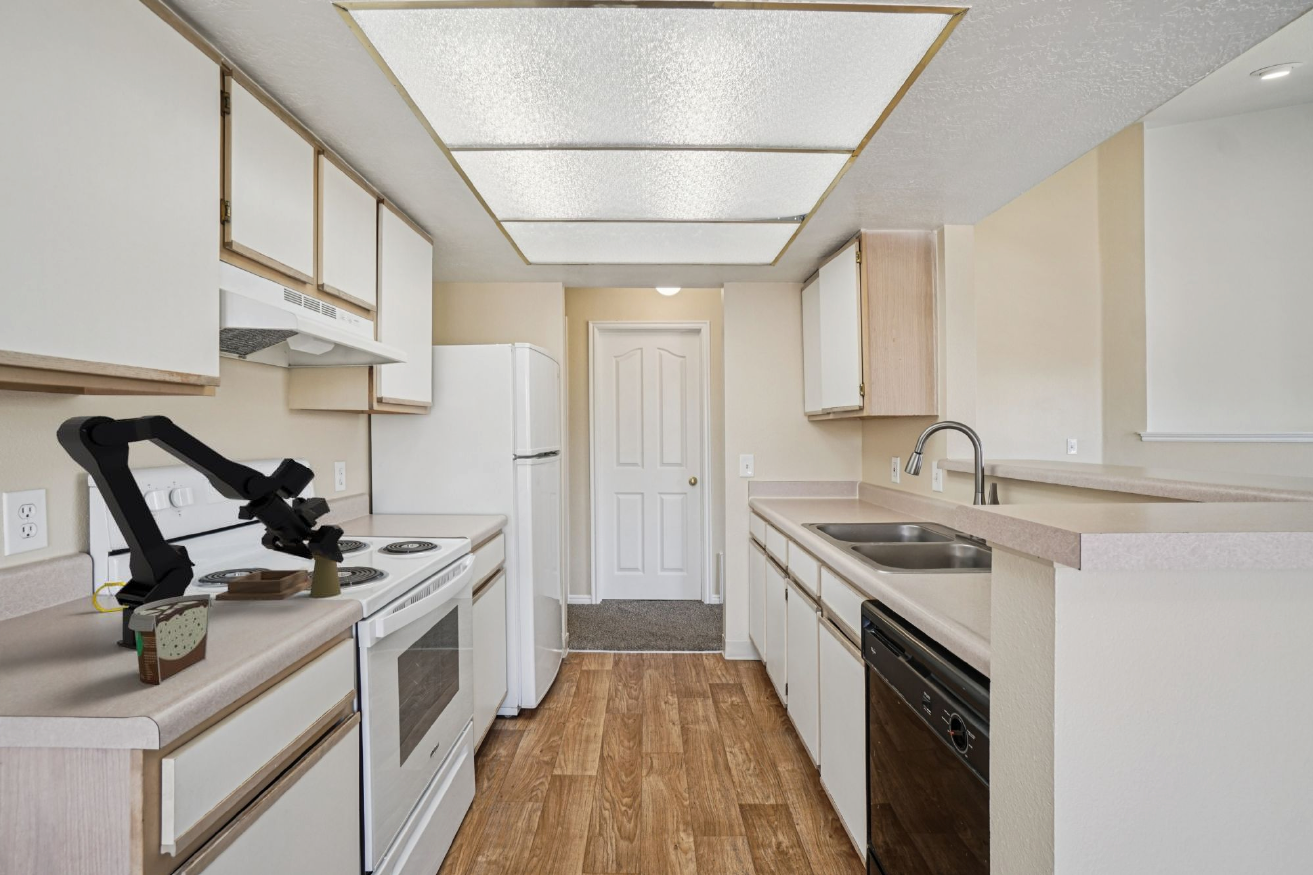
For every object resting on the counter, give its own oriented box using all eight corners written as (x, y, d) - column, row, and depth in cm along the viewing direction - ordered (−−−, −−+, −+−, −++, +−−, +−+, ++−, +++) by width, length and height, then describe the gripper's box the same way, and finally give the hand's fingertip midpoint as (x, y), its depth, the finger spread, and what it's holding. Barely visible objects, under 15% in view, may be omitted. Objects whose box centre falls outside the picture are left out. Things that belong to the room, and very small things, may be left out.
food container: (171, 657, 93) (171, 593, 93) (212, 656, 93) (212, 592, 93) (103, 690, 80) (103, 617, 80) (151, 689, 81) (151, 616, 81)
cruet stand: (283, 599, 126) (283, 582, 126) (215, 599, 126) (215, 583, 126) (317, 583, 140) (317, 568, 140) (257, 583, 140) (257, 569, 140)
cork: (303, 596, 128) (303, 546, 128) (326, 589, 134) (326, 541, 134) (325, 598, 127) (325, 547, 127) (347, 591, 132) (347, 542, 132)
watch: (133, 608, 121) (136, 578, 121) (130, 611, 118) (133, 581, 119) (93, 610, 117) (96, 580, 118) (90, 614, 115) (93, 583, 115)
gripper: (335, 487, 122) (379, 532, 132) (274, 484, 129) (320, 527, 139) (300, 531, 115) (349, 575, 125) (237, 525, 122) (288, 567, 132)
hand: (327, 559), depth 131 cm, fingers open, 9 cm apart
